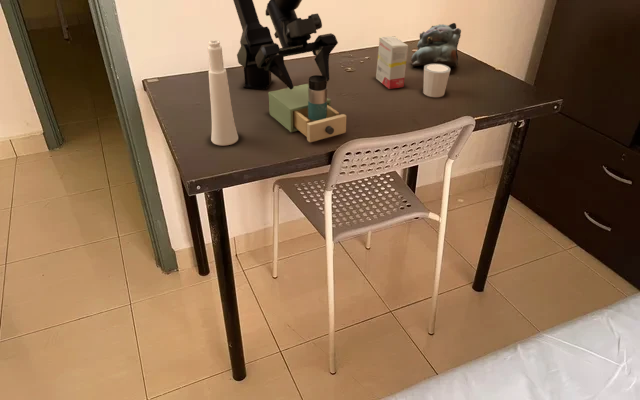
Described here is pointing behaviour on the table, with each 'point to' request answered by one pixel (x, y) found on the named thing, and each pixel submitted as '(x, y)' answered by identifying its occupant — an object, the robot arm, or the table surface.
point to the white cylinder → (435, 79)
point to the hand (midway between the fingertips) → (310, 84)
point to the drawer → (319, 124)
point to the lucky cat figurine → (438, 46)
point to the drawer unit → (289, 104)
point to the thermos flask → (317, 98)
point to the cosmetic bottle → (220, 99)
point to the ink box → (391, 62)
